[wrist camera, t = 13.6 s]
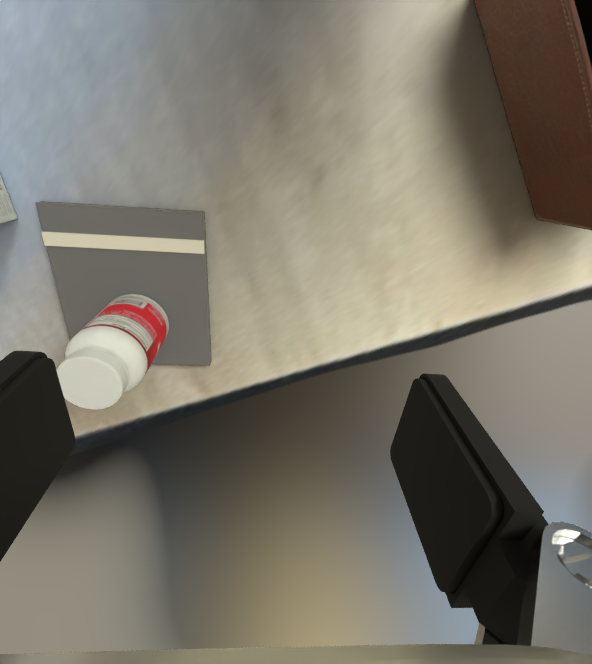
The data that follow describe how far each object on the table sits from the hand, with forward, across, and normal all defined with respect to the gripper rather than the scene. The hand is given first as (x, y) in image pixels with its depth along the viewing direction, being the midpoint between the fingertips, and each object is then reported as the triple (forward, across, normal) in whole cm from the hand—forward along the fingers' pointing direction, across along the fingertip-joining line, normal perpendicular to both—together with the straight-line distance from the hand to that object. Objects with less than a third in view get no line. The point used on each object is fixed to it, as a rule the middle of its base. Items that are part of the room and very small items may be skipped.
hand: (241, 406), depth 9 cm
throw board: (+26, +12, +8) cm, 30 cm away
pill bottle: (+25, +12, +11) cm, 30 cm away
